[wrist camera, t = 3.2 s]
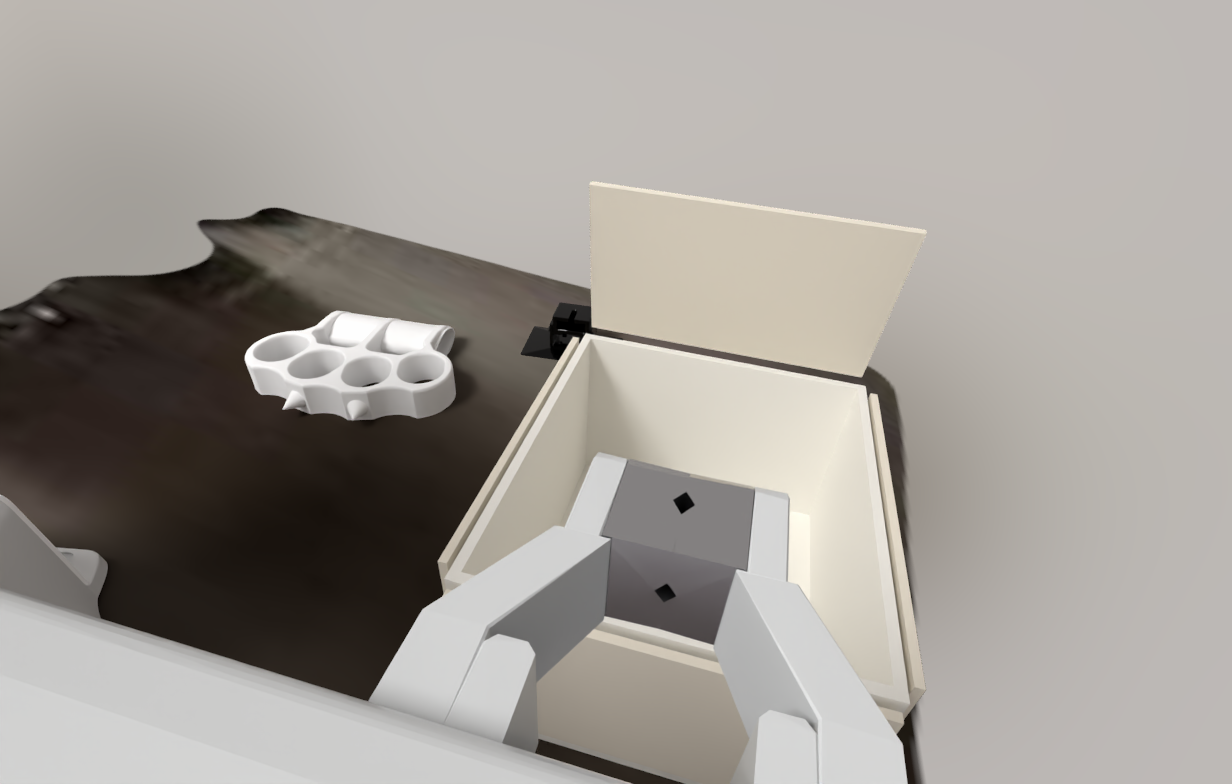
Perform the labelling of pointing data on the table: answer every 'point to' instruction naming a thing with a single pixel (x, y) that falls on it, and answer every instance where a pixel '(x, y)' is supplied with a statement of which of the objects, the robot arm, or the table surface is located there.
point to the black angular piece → (560, 332)
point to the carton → (722, 449)
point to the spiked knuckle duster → (357, 367)
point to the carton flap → (745, 276)
